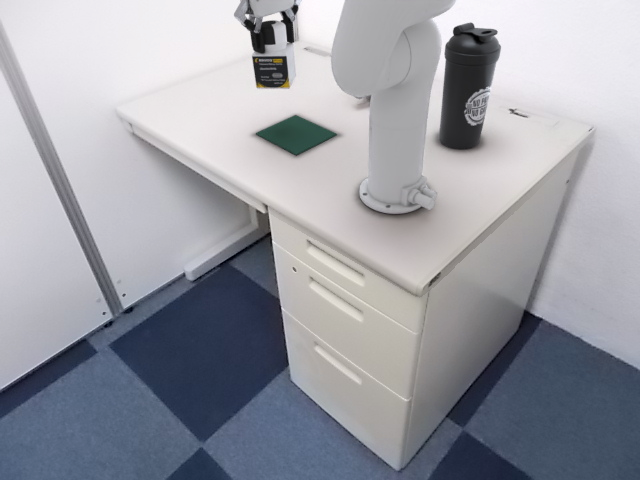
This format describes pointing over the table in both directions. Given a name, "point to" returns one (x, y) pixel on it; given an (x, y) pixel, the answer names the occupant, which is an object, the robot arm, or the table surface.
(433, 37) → the robot arm
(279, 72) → the medicine bottle
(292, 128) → the cutting mat
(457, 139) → the water bottle
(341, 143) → the table surface
